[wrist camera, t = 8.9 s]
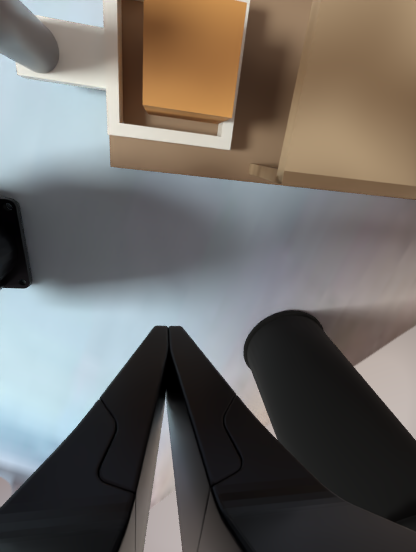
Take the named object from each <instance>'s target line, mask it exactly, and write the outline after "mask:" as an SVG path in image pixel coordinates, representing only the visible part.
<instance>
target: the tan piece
mask: <svg viewBox="0 0 416 552" xmlns="http://www.w3.org/2000/svg"><path fill="white" fill-rule="evenodd" d="M121 9H122V78H123V124H131V125H138V126H146V127H153V128H160V129H168V130H175V131H182V132H190V133H197V134H204V135H212V136H217V133H218V124H213V123H206V122H199V121H192V120H185V119H178V118H171V117H164V116H157V115H150V114H148V113H147V112H146V110H145V108H144V106H143V17H144V2H140V1H135V0H121ZM110 165H111V167H117V168H127V169H136V170H145V171H154V172H163V173H173V174H182V175H191V176H200V177H210V178H219V179H228V180H237V181H246V182H256V183H265V184H274V185H283V186H293V187H302V188H311V189H320V190H329V191H339V192H348V193H357V194H366V195H376V196H385V197H394V198H403V199H412V200H416V0H250V6H249V13H248V20H247V28H246V35H245V43H244V50H243V58H242V65H241V73H240V80H239V87H238V95H237V102H236V110H235V117H234V125H233V132H232V140H231V147H230V150H224V149H216V148H208V147H200V146H193V145H185V144H177V143H169V142H161V141H153V140H145V139H138V138H130V137H122V136H114V135H110Z"/></svg>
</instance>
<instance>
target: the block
mask: <svg viewBox="0 0 416 552" xmlns="http://www.w3.org/2000/svg"><path fill="white" fill-rule="evenodd" d="M246 7H247V3H246V2H241V1H237V0H144V17H143V106H144V108H145V110H146V112H147V113H148V114H150V115H157V116H164V117H171V118H178V119H185V120H192V121H199V122H206V123H213V124H219V123H221V122H224V121H226V120H228V119H231V118H232V114H233V106H234V99H235V91H236V83H237V76H238V68H239V61H240V53H241V45H242V38H243V30H244V22H245V15H246Z"/></svg>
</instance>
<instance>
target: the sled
mask: <svg viewBox="0 0 416 552" xmlns="http://www.w3.org/2000/svg"><path fill="white" fill-rule="evenodd" d="M135 1H140V2H144V0H135ZM237 1H241V2H246V3H247V7H246V15H245V22H244V30H243V38H242V45H241V53H240V61H239V68H238V76H237V83H236V91H235V99H234V106H233V114H232V118H231V119H228V120H226V121H224V122H221V123H219V124H218V133H217V136H212V135H204V134H197V133H190V132H182V131H175V130H168V129H160V128H153V127H146V126H138V125H131V124H123V78H122V9H121V0H103V19H104V28H101V27H96V26H90V25H85V24H80V23H75V22H69V21H64V20H59V19H54V18H49V17H43V16H38V15H34V14H33V13H32V12H31V11H30V10H29V9H28V8H27V7H26V6H25V5H24V4H23V3H22V2H21V1H20V0H0V53H1V54H3V55H5V56H6V57H8V58H10V59H12V60H14V61H15V62H16V69H17V75H19V76H21V77H23V78H26V79H33V80H39V81H46V82H52V83H59V84H65V85H72V86H78V87H85V88H91V89H98V90H104V91H106V102H107V130H108V135H114V136H122V137H130V138H138V139H145V140H153V141H161V142H169V143H177V144H185V145H193V146H200V147H208V148H216V149H224V150H230V147H231V140H232V132H233V125H234V117H235V110H236V102H237V95H238V87H239V80H240V73H241V65H242V58H243V50H244V43H245V35H246V28H247V20H248V13H249V6H250V0H237Z"/></svg>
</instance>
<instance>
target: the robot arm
mask: <svg viewBox="0 0 416 552" xmlns="http://www.w3.org/2000/svg"><path fill="white" fill-rule="evenodd" d="M7 203H9V204H10V205H11V206H12V210H11V209H9V208H8V207H7ZM21 279H23V280H25V281H26V283H23V282H22V281H21ZM31 283H32V277H31V271H30V266H29V260H28V254H27V248H26V243H25V237H24V231H23V225H22V220H21V214H20V208H19V205H18V203H17V202H16V201H15V200H14V199H11V198H3V197H0V290H1V289H2V288H27V287H29V286H30V285H31ZM165 397H166V403H167V413H168V422H169V432H170V441H171V450H172V459H173V469H174V478H175V487H176V496H177V505H178V515H179V524H180V533H181V541H182V552H416V532H415V531H413V530H410V529H408V528H406V527H404V526H401V525H399V524H397V523H394V522H392V521H390V520H387V519H385V518H383V517H380V516H378V515H376V514H374V513H371V512H369V511H367V510H364V509H362V508H360V507H357V506H355V505H353V504H351V503H349V502H347V501H345V500H343V499H342V498H340V497H338V496H337V495H336V494H334V493H333V492H331V491H330V490H329V489H328V488H326V487H325V486H324V485H323V484H321V483H320V482H319V481H318V480H317V479H316V478H315V477H314V476H313V475H312V474H311V473H310V472H309V471H308V470H307V469H306V468H305V467H304V466H303V465H302V464H301V463H300V462H299V461H298V460H297V459H296V458H295V457H294V456H293V455H292V454H291V453H290V452H289V451H288V450H287V449H286V448H285V447H284V446H283V445H282V444H281V443H280V442H279V441H278V440H277V439H276V438H275V437H274V436H273V435H272V434H271V433H270V432H269V431H268V430H267V429H266V428H265V427H264V426H263V425H262V424H261V423H260V421H259V420H258V419H257V418H256V417H255V416H254V415H253V414H252V412H251V411H250V410H249V409H248V408H247V407H246V405H245V404H244V403H243V402H242V400H241V399H240V398H239V397H238V396H237V395H236V393H235V392H234V391H233V389H232V388H231V387H230V386H229V384H228V383H227V382H226V381H225V379H224V378H223V377H222V376H221V375H220V373H219V372H218V371H217V370H216V368H215V367H214V366H213V365H212V363H211V362H210V361H209V360H208V358H207V357H206V356H205V355H204V353H203V352H202V351H201V350H200V349H199V347H198V346H197V345H196V344H195V342H194V341H193V340H192V339H191V337H190V336H189V335H188V334H187V332H186V331H185V330H184V329H183V327H181V326H169V327H167V326H155V327H154V328H153V329H152V330H151V332H150V333H149V334H148V336H147V337H146V338H145V339H144V341H143V342H142V343H141V345H140V346H139V347H138V349H137V350H136V351H135V352H134V354H133V355H132V356H131V358H130V359H129V360H128V362H127V363H126V364H125V365H124V367H123V368H122V369H121V371H120V372H119V373H118V375H117V376H116V377H115V379H114V380H113V381H112V382H111V384H110V385H109V386H108V388H107V389H106V390H105V392H104V393H103V394H102V395H101V397H100V400H97V402H96V403H95V404H94V406H93V407H92V408H91V410H90V411H89V412H88V413H87V415H86V416H85V417H84V418H83V419H82V421H81V422H80V423H79V424H78V426H77V427H76V428H75V429H74V430H73V431H72V433H71V434H70V435H69V436H68V437H67V438H66V439H65V440H64V441H63V442H62V443H61V445H60V446H59V447H58V448H57V449H56V450H55V451H54V452H53V453H52V454H51V455H50V456H49V457H48V458H47V459H46V460H45V461H44V463H43V464H42V465H41V466H40V467H39V468H38V469H37V470H36V471H35V472H34V473H33V474H32V475H31V476H30V477H29V478H28V479H27V480H26V481H25V482H24V484H23V485H22V486H21V487H20V488H19V489H18V490H17V491H16V492H15V493H14V494H13V495H12V496H11V497H10V498H9V499H8V500H7V501H6V502H5V504H3V506H2V507H1V508H0V552H143V550H144V543H145V536H146V529H147V522H148V516H149V509H150V502H151V495H152V488H153V481H154V475H155V468H156V461H157V454H158V447H159V440H160V434H161V427H162V420H163V413H164V406H165Z"/></svg>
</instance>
